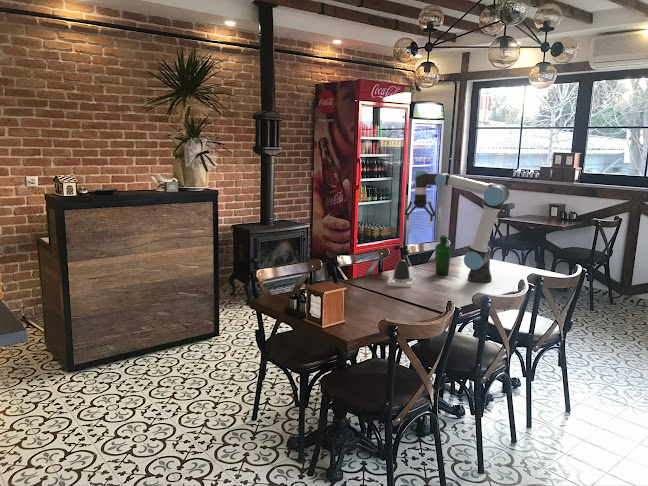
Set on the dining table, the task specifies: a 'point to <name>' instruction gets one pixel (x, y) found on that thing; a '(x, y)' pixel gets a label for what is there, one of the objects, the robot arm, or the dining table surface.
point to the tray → (408, 284)
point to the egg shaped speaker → (401, 272)
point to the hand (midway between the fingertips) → (419, 225)
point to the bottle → (442, 256)
